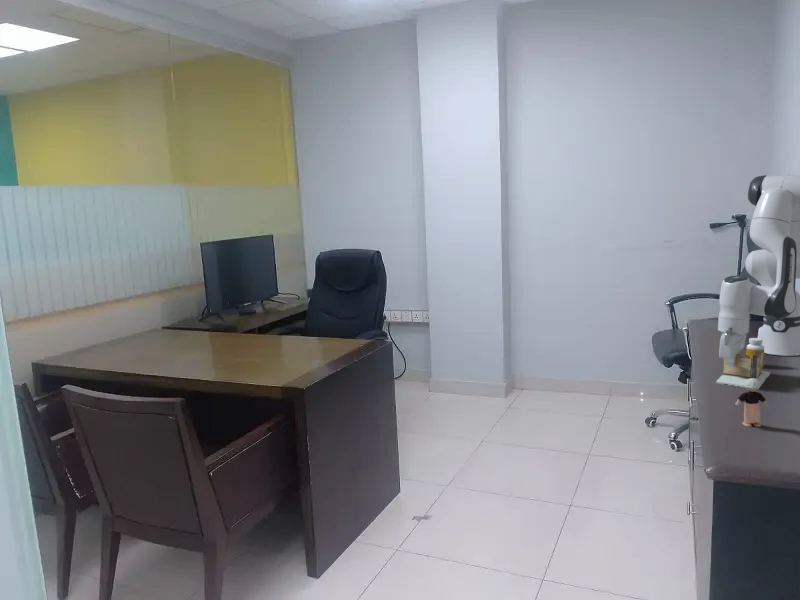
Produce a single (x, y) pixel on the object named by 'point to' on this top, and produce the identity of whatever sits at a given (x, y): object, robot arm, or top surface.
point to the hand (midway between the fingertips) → (730, 367)
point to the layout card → (740, 379)
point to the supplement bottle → (755, 348)
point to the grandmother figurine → (751, 403)
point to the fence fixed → (757, 364)
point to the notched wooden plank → (740, 366)
